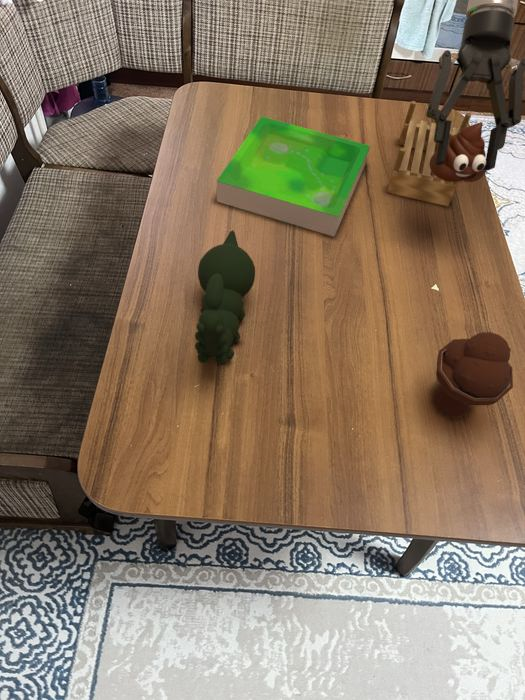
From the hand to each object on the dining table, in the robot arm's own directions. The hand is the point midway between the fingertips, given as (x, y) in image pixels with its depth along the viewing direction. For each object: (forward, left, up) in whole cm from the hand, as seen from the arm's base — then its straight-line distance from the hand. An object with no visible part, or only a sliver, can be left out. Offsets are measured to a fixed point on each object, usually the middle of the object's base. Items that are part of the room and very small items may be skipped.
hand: (464, 165), depth 89 cm
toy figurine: (+32, +31, -19) cm, 48 cm away
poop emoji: (0, -3, -4) cm, 5 cm away
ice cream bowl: (-7, +34, -19) cm, 40 cm away
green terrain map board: (+30, -10, -19) cm, 37 cm away
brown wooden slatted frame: (+4, -24, -18) cm, 30 cm away
